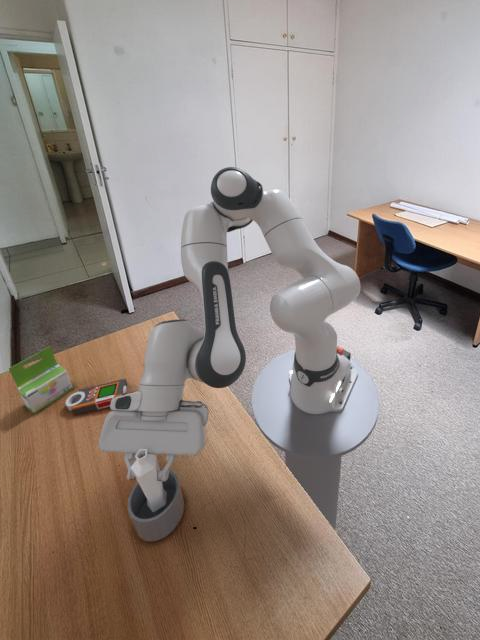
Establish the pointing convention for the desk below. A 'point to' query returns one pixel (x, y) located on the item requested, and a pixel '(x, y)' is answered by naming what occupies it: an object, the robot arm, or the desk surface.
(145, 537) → the short grey cup
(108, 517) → the desk surface
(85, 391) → the electronic device
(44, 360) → the ink box
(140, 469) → the perfume bottle
